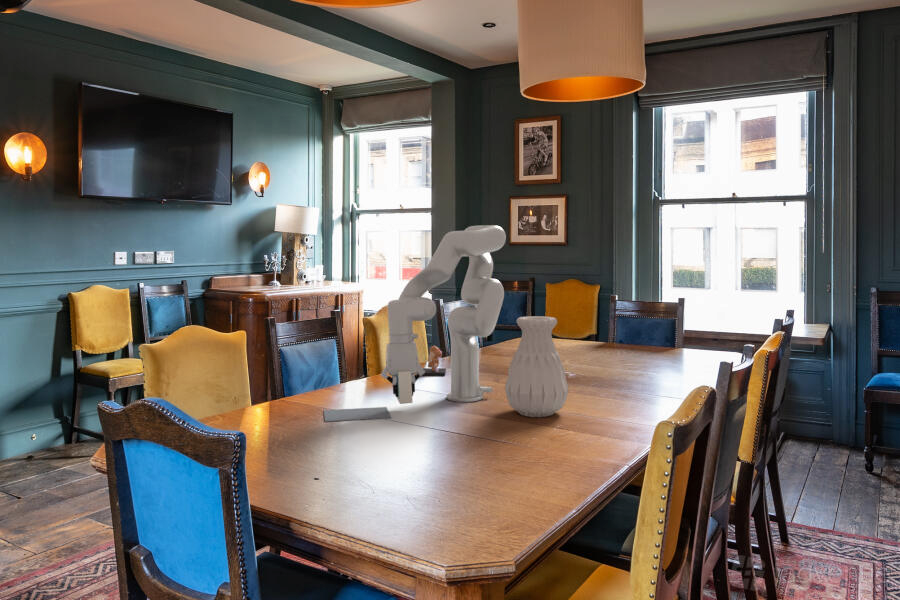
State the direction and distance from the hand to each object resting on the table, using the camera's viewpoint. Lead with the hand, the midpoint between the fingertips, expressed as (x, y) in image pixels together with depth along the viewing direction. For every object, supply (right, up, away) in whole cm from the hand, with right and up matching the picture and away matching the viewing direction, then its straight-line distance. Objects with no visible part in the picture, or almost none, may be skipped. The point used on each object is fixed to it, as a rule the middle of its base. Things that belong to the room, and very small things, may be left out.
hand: (404, 394), depth 221 cm
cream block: (0, -2, 0) cm, 2 cm away
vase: (+42, -6, -3) cm, 42 cm away
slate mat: (-15, -6, -4) cm, 16 cm away
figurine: (+8, 0, +64) cm, 64 cm away
